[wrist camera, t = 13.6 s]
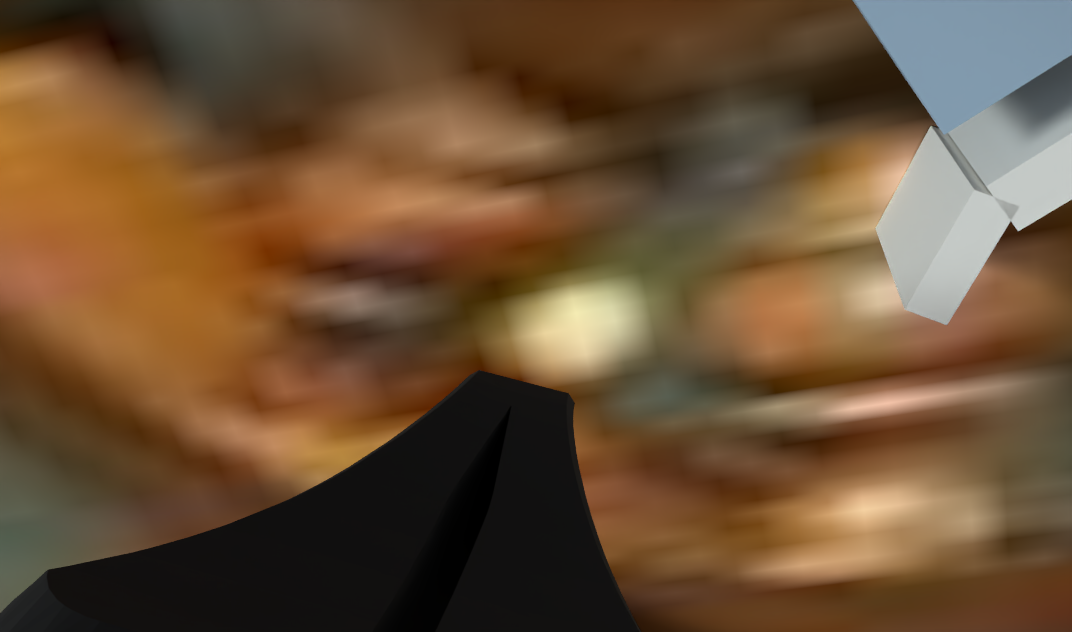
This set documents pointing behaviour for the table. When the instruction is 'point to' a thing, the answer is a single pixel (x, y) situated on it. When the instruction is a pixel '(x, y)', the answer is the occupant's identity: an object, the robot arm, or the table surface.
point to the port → (978, 191)
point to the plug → (969, 48)
